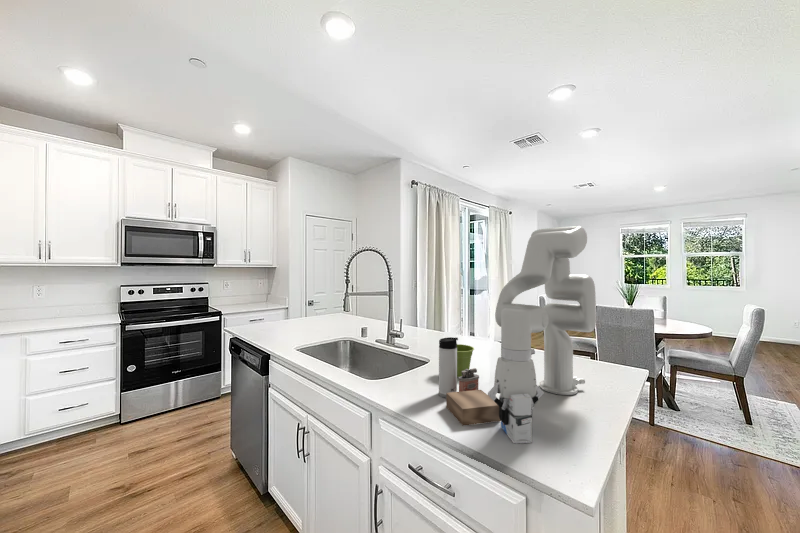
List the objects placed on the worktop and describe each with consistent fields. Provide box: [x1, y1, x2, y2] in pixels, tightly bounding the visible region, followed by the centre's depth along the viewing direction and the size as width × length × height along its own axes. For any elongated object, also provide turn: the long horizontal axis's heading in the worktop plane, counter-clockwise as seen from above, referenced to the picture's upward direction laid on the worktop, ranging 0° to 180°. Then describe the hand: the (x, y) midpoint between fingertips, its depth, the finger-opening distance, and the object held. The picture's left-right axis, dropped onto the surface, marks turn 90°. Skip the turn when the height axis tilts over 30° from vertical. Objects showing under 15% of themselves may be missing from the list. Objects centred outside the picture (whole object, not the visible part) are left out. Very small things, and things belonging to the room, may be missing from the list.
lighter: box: [457, 367, 480, 392], centre depth 107 cm, size 8×3×10 cm, turn 117°
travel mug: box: [438, 337, 459, 399], centre depth 110 cm, size 6×7×20 cm
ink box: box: [500, 393, 532, 444], centre depth 84 cm, size 8×5×12 cm, turn 5°
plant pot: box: [457, 343, 475, 378], centre depth 131 cm, size 12×12×11 cm
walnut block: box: [445, 389, 501, 427], centre depth 96 cm, size 12×12×5 cm
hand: (515, 421), depth 84 cm, fingers open, 5 cm apart
